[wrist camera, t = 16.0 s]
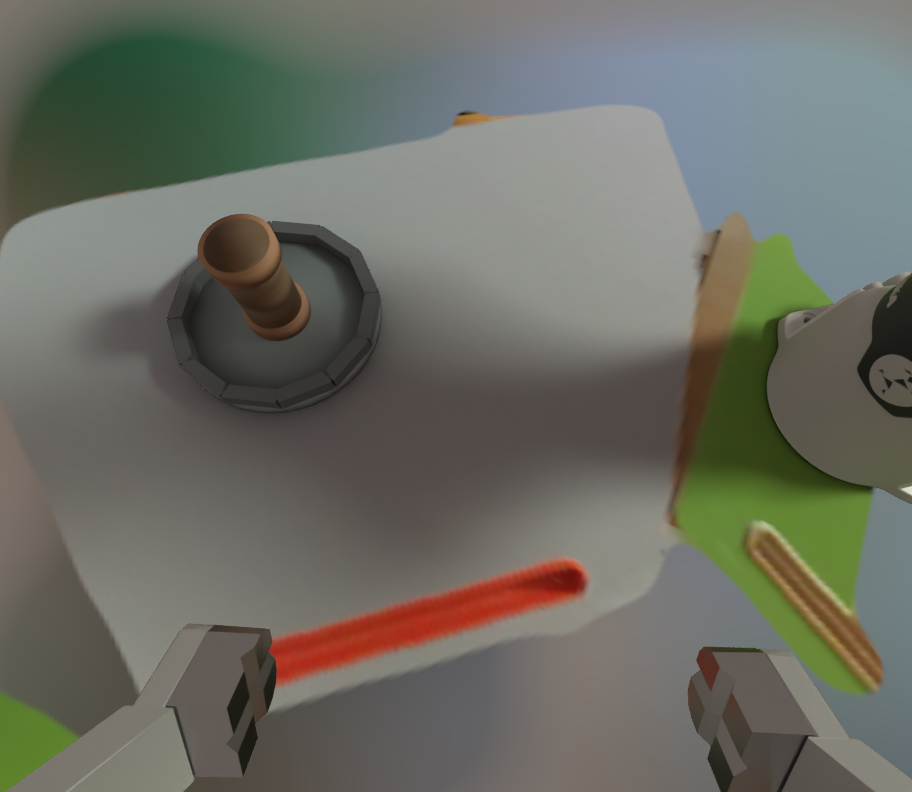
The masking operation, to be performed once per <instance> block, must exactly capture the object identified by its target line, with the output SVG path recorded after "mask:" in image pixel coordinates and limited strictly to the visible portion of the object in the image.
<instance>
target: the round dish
mask: <svg viewBox="0 0 912 792" xmlns="http://www.w3.org/2000/svg"><path fill="white" fill-rule="evenodd" d="M267 223H268V224H269V226H270V227H271V228H272V230H273V232H274V234H275V236H276V238H277V240H278V242H279V244H280V246H281V250H282V261H283V263H284V265H285V267H286V269H287V271H288V272H289V274H290V276H291V278H292V280H293V281H294V282H295V283H297V284H298V285H299V286H300V287H301V288H302V290H303V291H304V293H305V295H306V297H307V299H308V301H309V303H310V307H311V315H310V319H309V322H308V324H307V325H306V327H305V328H304V329H303V330H302V331H301V332H300V333H299V334H298V335H296V336H294V337H292V338H290V339H287V340H284V341H269V340H266V339H263V338H261V337H260V336H258V335H257V334H256V333H255V332H254V331H253V330H252V328H251V327H250V326H249V324H248V323H247V322H246V320H245V318H244V316H243V312H242V307H241V306H240V305H239V303H238V302H237V301H236V300H235V298H234V297H233V296H232V294H231V293H230V292H229V290H228V289H227V288H226V287H223V286H221V285H220V284H218V283H217V282H216V281H215V280H214V279H213V278H212V277H211V276H210V274H209V273H208V272H207V270H206V269H205V268H204V267H203V265H202V264H201V262H200V260H199V259H198V260H196V261H195V262H194V263H193V264H192V265H191V266H190V267H189V268H188V269H187V270H186V271H184V273H185V274H182V277H181V280H180V283H179V286H178V289H177V291H176V294H175V297H174V300H173V303H172V306H171V309H170V311H169V314H168V317H167V319H168V320H167V322H168V326H169V330H170V333H171V337H172V341H173V344H174V348H175V352H176V355H177V359H178V363H179V365H180V366H181V367H182V368H183V369H184V370H185V371H187V372H188V373H189V374H190V375H192V376H193V377H194V379H195V380H196V381H197V382H198V383H199V384H200V385H201V386H202V387H203V388H205V389H206V390H207V391H208V392H209V393H211V394H212V395H214V396H215V397H217V398H218V399H220V400H221V401H223V402H225V403H227V404H230V405H232V406H234V407H237V408H241V409H244V410H248V411H254V412H264V413H277V412H287V411H292V410H297V409H301V408H304V407H307V406H310V405H314V404H316V403H318V402H320V401H322V400H324V399H326V398H328V397H330V396H331V395H333V394H335V393H336V392H338V391H339V390H340V389H342V388H343V387H344V386H345V385H347V384H348V383H349V382H350V381H351V380H352V379H353V378H354V377H355V376H356V375H357V374H358V373H359V372H360V370H361V369H362V368H363V367H364V365H365V364H366V363H367V361H368V359H369V357H370V356H371V354H372V352H373V350H374V348H375V345H376V343H377V340H378V336H379V332H380V328H381V318H382V315H381V301H380V296H379V292H378V289H377V287H376V284H375V281H374V279H373V277H372V275H371V273H370V271H369V269H368V267H367V264H366V262H365V260H364V258H363V256H362V253H361V252H360V250H359V249H357V248H355V247H354V246H352V245H351V244H349V243H348V242H346V241H345V240H343V239H342V238H340V237H338V236H337V235H335V234H334V233H332V232H331V231H329V230H328V229H326V228H325V227H323V226H322V227H321V226H320V225H312V224H301V223H290V222H279V221H272V224H271V222H270V221H269V222H267Z"/></svg>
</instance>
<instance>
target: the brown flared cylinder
mask: <svg viewBox="0 0 912 792" xmlns="http://www.w3.org/2000/svg"><path fill="white" fill-rule="evenodd" d="M198 257H199V260H200V262H201V264H202V265H203V267H204V268H205V269H206V270H207V272H208V273H209V274H210V276H211V277H212V278H213V279H214V280H215V281H216V282H217V283H218V284H220V285H221V286H223V287H226V288H227V289H228V290H229V292H230V293H231V294H232V296H233V297H234V298H235V300H236V301H237V302H238V303H239V305H240V306H241V307H242V312H243V316H244V318H245V320H246V322H247V323H248V324H249V326H250V327H251V328H252V330H253V331H254V332H255V333H256V334H257V335H258V336H260V337H261V338H263V339H266V340H269V341H284V340H287V339H290V338H292V337H294V336H296V335H298V334H299V333H300V332H301V331H302V330H303V329H304V328H305V327H306V325H307V324H308V322H309V319H310V315H311V307H310V303H309V301H308V299H307V297H306V295H305V293H304V291H303V290H302V288H301V287H300V286H299V285H298V284H297V283H295V282H294V281H293V280H292V278H291V276H290V274H289V272H288V271H287V269H286V267H285V265H284V263H283V261H282V250H281V246H280V244H279V242H278V240H277V238H276V236H275V234H274V232H273V230H272V228H271V227H270V226H269V224H268V223H267V222H265V221H264V220H263V219H261V218H259V217H256V216H253V215H249V214H235V215H230V216H227V217H224V218H222V219H220V220H218V221H216V222H214V223H213V224H212V225H211V226H209V227H208V228H207V229H206V231H205V232H204V233H203V235H202V236H201V238H200V241H199V244H198Z"/></svg>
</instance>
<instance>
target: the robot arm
mask: <svg viewBox="0 0 912 792" xmlns="http://www.w3.org/2000/svg"><path fill="white" fill-rule="evenodd" d="M804 322H806V323H804ZM778 345H779V346H778V350H777V353H776V355H775V357H774V359H773V361H772V364H771V366H770V369H769V373H768V378H767V396H768V402H769V406H770V409H771V413H772V415H773V418H774V420H775V422H776V424H777V426H778V428H779V429H780V431H781V433H782V434H783V436H784V437H785V438H786V440H787V441H788V442H789V443H790V445H791V446H792V447H793V448H794V449H795V450H796V451H797V452H798V453H799V454H800V455H801V456H802V457H803V458H805V459H806V460H807V461H808V462H810V463H811V464H812V465H814V466H815V467H817V468H818V469H820V470H822V471H823V472H825V473H827V474H829V475H831V476H833V477H836V478H838V479H841V480H843V481H847V482H850V483H854V484H859V485H865V486H871V487H876V488H880V489H883V490H885V491H887V492H889V493H891V494H892V495H894V496H896V497H898V498H900V499H902V500H904V501H906V502H908V503H911V504H912V273H911V272H906V273H902V274H899V275H897V276H895V277H892V278H891V279H889V280H887V281H885V282H884V283H883V284H881V283H880V282H874V283H871V284H869V285H867V286H866V287H864V288H863V289H858V290H855V291H853V292H852V293H850V294H848V295H847V296H845V297H844V298H842V299H841V300H839V301H838V302H836V303H835V304H831V305H826V306H821V307H816V308H811V309H806V310H802V311H797V312H792V313H790V314H788V315H786V316H785V317H783V318H782V319H780V321H779V323H778ZM271 644H272V637H271V633H270V629H264V628H250V627H236V626H222V625H204V624H187V625H186V626H185V627H184V628H183V629H182V630H181V631H180V632H179V633H178V635H177V636H176V638H175V640H174V641H173V643H172V644H171V646H170V648H169V649H168V651H167V652H166V654H165V655H164V657H163V659H162V660H161V662H160V663H159V665H158V667H157V668H156V670H155V671H154V673H153V675H152V676H151V678H150V679H149V681H148V682H147V684H146V686H145V687H144V689H143V690H142V692H141V694H140V695H139V697H138V698H137V700H136V701H135V703H134V705H133V706H123V707H122V708H120V709H119V710H118V711H116V712H115V713H114V714H112V715H111V716H109V717H108V718H107V719H105V720H104V721H103V722H101V723H100V724H99V725H97V726H96V727H94V728H93V729H91V730H90V731H89V732H87V733H86V734H85V735H83V736H82V737H80V738H79V739H78V740H76V741H75V742H73V743H72V744H71V745H69V746H68V747H67V748H65V749H64V750H62V751H61V752H60V753H58V754H57V755H55V756H54V757H53V758H51V759H50V760H49V761H47V762H46V763H44V764H43V765H42V766H40V767H39V768H38V769H36V770H35V771H33V772H32V773H31V774H29V775H28V776H26V777H25V778H24V779H22V780H21V781H20V782H18V783H17V784H15V785H14V786H13V787H11V788H10V789H9V790H7V791H6V792H183V791H184V790H185V789H186V788H187V787H188V786H189V785H190V784H191V783H192V782H193V781H194V777H243V776H244V774H245V771H246V768H247V766H248V763H249V761H250V758H251V755H252V752H253V750H254V747H255V745H256V742H257V739H258V736H257V731H256V725H255V724H256V723H257V722H258V721H259V720H260V719H261V718H263V717H264V716H265V715H266V714H267V713H268V710H269V707H270V704H271V701H272V698H273V694H274V689H275V684H276V674H277V667H276V660H275V658H274V657H273V656H272V655H271V654H270V653H269V649H270V647H271ZM697 663H698V665H699V667H700V671H698V672H697V673H696V674H694V675H693V676H692V677H691V679H690V683H689V687H688V705H689V710H690V714H691V718H692V721H693V723H694V726H695V729H696V731H697V733H698V734H699V735H700V736H701V737H702V738H703V739H704V740H706V742H707V743H708V744H709V745H710V746H711V748H710V751H709V755H708V758H707V759H708V762H709V764H710V766H711V769H712V771H713V774H714V776H715V779H716V781H717V784H718V786H719V789H720V791H721V792H912V780H911V779H910V778H909V777H907V776H906V775H905V774H904V773H902V772H901V771H900V770H898V769H897V768H896V767H894V766H893V765H892V764H890V763H889V762H888V761H886V760H885V759H884V758H883V757H881V756H880V755H879V754H877V753H876V752H875V751H873V750H872V749H871V748H869V747H868V746H867V745H865V744H864V743H862V741H860V740H859V739H852V738H849V737H848V736H847V734H846V733H845V731H844V730H843V728H842V727H841V725H840V724H839V722H838V721H837V719H836V718H835V716H834V715H833V713H832V712H831V710H830V709H829V707H828V706H827V704H826V703H825V701H824V700H823V698H822V697H821V695H820V694H819V692H818V691H817V689H816V688H815V686H814V685H813V683H812V682H811V680H810V679H809V677H808V676H807V674H806V673H805V671H804V670H803V668H802V667H801V665H800V664H799V662H798V661H797V659H796V658H795V656H794V655H793V654H792V653H790V652H789V651H788V650H776V649H775V650H774V649H756V648H735V647H732V648H731V647H703V648H702V649H701V650H700V651H699V654H698V657H697Z"/></svg>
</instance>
